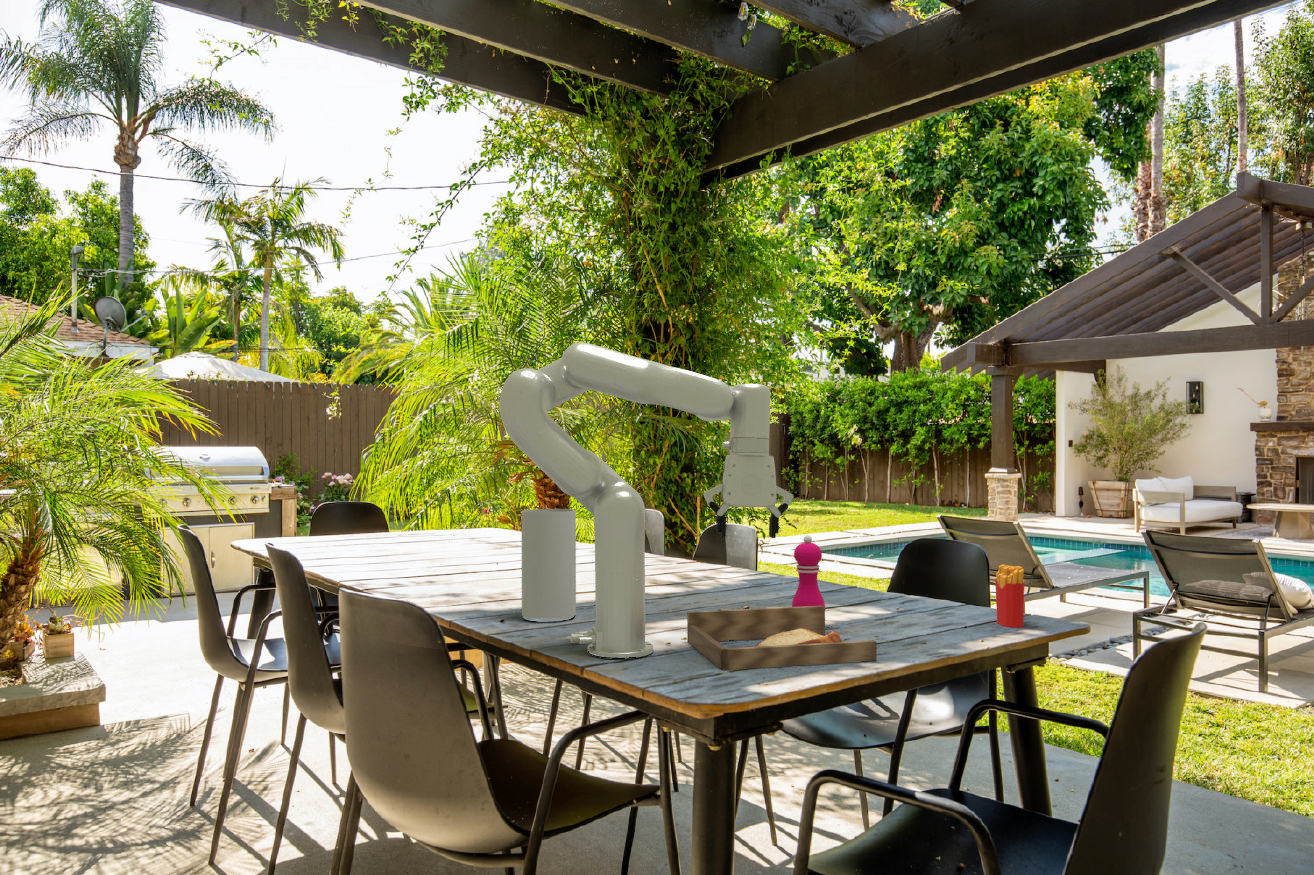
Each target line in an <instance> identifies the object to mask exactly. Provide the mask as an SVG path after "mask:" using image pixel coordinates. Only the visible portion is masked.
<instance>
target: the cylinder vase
mask: <svg viewBox="0 0 1314 875" xmlns="http://www.w3.org/2000/svg"><path fill="white" fill-rule="evenodd" d="M576 513H577V512H576V509H571V508H540V509H539V508H535V509H524V510H521V616H522V615H523V616H525V617H529V618H540V619H541V618H543V619H544V618H565V617H570V616H573V615H576V616H577V578H576V577H577V566H576V565H577V560H576V559H577V557H576V556H577V551H576V550H577V546H576V545H577V543H576V542H577V541H576V540H577V538H576V537H577V535H576V534H577V533H576V531H577V529H576V527H577V526H576V525H577V524H576V523H577V522H576V519H577V518H576V517H577V516H576V515H577V514H576Z"/></svg>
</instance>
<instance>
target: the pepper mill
mask: <svg viewBox="0 0 1314 875" xmlns="http://www.w3.org/2000/svg"><path fill="white" fill-rule="evenodd" d="M812 538H813V537H812V536H811V535H805V536H804V537H803V541H804V542H802V543H799V544H797V545H796V547H795V549H794V551H793V557H794V558H793V559H794V560H795V561H796V563H797V565H796V572H797V573H798V584H797V585H798V586H797V589H796V590H795V594H794V596H793V598H792V601H791V607H804V606H825V607H826V604H825V600H824V598H823V595H822V593H821V590H820V588H819V584H818V575H819V574H818V573H819V572H820V568H821V566H820V565H819V562H820V561H821V560H822V559H823V554H822V550H821V548H820V546H819V545H817V544H816V543H813V542H812V541H813V539H812Z"/></svg>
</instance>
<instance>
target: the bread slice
mask: <svg viewBox="0 0 1314 875" xmlns="http://www.w3.org/2000/svg"><path fill="white" fill-rule="evenodd" d="M833 642H843V641H842V637H841V636H840V635H839V633H837V631H833V630H830V633H828V634H825V636H823V635H820V634H817V633H815V632H813V631H810V630H807V629H804V628H799V629H796V630H791V631H787V632H781V633H779V634H776V635H772V636H770V637H768V638H766V639H763V641H760V642H759V643H758V644H757V646H756V647H760V646H778V645H796V644H814V643H833Z"/></svg>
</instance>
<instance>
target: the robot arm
mask: <svg viewBox="0 0 1314 875" xmlns="http://www.w3.org/2000/svg"><path fill="white" fill-rule="evenodd" d="M589 390H591V391H594V392H598V393H601V394H605V395H609V396H612V397H615V398H619V399H622V400H626V401H629V402H632V403H637V404H642V405H643V404H644V405H658V406H663V407H668V408H671V409H675V410H679V411H682V412H686V413H689V414H692V415H695V416H696V417H697V418H699V419H700V420H702V421H705V422H719V421H727V420H728V421H730V433H729V437H730V438H729V439H728V440H726V441H722V449H727V450H729V454H726V456H725V461H724V466H723V473H722V483H720V484H718V485H716V486H714V487H712V488H710V489H709V490H706V491H704V492H703V497H704V499H705V501H706V504H707V505H708V507H709V508H710V509H711V510H712V512H714V513H715V514H716V532H717V533H719V537H721V538H725V537H726V533H727V530H726V529H727V516H725V513H726V512H727V510H729V509H730V507H732V508H733V507H735V508H736V507H737V508H767V510H768V511H769V512H770V516H769V518H768V525H769V526H768V537H770V538H771V539H776V536H777V535H778V534H779V528H780V527H779V526H780V525H779V524H780V522H779V521H780V517H781V516H782V514H784V513H785V512H786V510H787V509H788V508H789V506H790V504H791V503H792V501H793V499H794V494H792V493H791V492H789V491H787V490H785V489H784V488H782V487H780V486H778V485H777V477H776V476H777V475H776V474H777V473H776V465H775V458H774V456H773V455H770V429H771V428H770V427H771V425H770V424H771V423H770V421H771V418H770V417H771V391H770V390H771V389H770V388H769V386H767V385H765V384H762V383H739V384H735V385H734V386H733V385H732V386H731V385H730V386H729V385H728V384H727V383H725V382H723V381H722V380H720V379H718V378H715V377H712V376H708V375H704V374H701V373H697V372H694V371H691V370H687V369H682V368H679V367H675V366H671V365H666V364H662V363H660V362H657V361H653V360H649V359H645V358H643V357H639V356H638V357H637V356H633V355H631V354H627V353H623V352H620V351H617V350H613V349H610V348H607V347H604V346H599V345H595V344H593V343H588V342H575V343H572V344H571V345H569V346H568V347H567V348H566V349H565V350H564V352H563V354H562V356H561V358H559V359H557V360H554V361H553V362H550V363H549V364H547V365H544V366H543V367H541V368H538V369H534V368H527V367H526V368H519V369H517V370H515V371H513V372H512V373H511V374H510V375H509V376H508V377H507V378H506V380H505V381H504V384H503V386H502V389H501V392H500V397H499V415H500V418H501V422H502V425H503V427H504V430H505V432H506V433H507V436H508V437H509V439H510V440H511V441H512V442H513V443H514V444H515V445H516V446H517V447H518V449H519V450H520V451H521V452H522V453H523V454H524V455H526V457H527V458H528V459H529V460H531V461H532V463H534V465H535V466H536V467H538V469H539V470H541V471H542V472H543V474H544V473H545V475H546V476H547V477H548V478H549V479H550V480H551V481H553V483H554V484H555V485H556V486H557V487H558V489H560V491H562V492H563V493H564V494H566V495H567V496H569V497H572V498H574V499H575V500H576V501H577V502H578V503H579V504H581V506H582V507H584V508H585V509H586V510H587V511H588V512H589V513H590V514H591V515H592V516H593V527H594V571H595V572H594V573H595V574H594V575H595V576H594V577H595V580H594V582H595V583H594V584H595V586H594V587H595V589H594V592H595V593H594V594H595V607H594V608H595V626H592V627H591V630H587V632H570V643H571V644H579V645H585V644H588V645H587V646H586V647H587V648H586V649H587V652H588V651H589V652H591V653H593V654H596V655H599V656H604V657H618V658H625V659H630V658H629V657H636V658H641V657H646V656H648V655H650V654H652V653H653V652H654V644H652V643H651V642H650V641H646V570H645V569H646V566H645V565H646V564H645V563H646V562H645V550H646V549H645V543H646V541H645V540H646V536H645V535H646V508H645V503H644V501H643V498H642V497H641V496H642V495H640V493H639V492H638V491H637V490H636V489H635V488H633V487H632V485H630V484H629V483H628V482H627V481H626V480H625V479H624V478H622V477H621V476H620V474H618V473H617V472H616V471H615V470H613V468H612V467H611V466H609V465H608V464H607V463H606V462H605V461H604V460H603V459H602V458H601V457H599V455H598V454H596V453H594V452H593V451H591V450H589V449H586V448H584V447H583V446H582V445H581V444H580V443H579V442H578V441H576V440H575V439H574V438H573V437H572V436H570V434H568V433H567V432H566V431H565V430H564V428H562V427H561V426H560V425H559V424H558V423H557V422H556V421H555V420H554V419H553V418H552V417H551V416H550V415H549V413H548V411H550V410H552V409H554V408H556V407H558V406H560V405H562V404H564V403H566V402H568V401H570V400H571V401H572V400H573V399H575V398H577V397H578V396H580V395H582V394H584V393H586V392H587V391H588V392H589ZM719 493H721V501H722V503H721V504H720V505H717V503H715V500H714V498H713V496H715V495H717V494H719ZM777 494H778V495H779V496H780V497H782V498H783V500H782V502H781V504H779V505H778V506H776V505H777V504H776V503H777Z"/></svg>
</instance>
